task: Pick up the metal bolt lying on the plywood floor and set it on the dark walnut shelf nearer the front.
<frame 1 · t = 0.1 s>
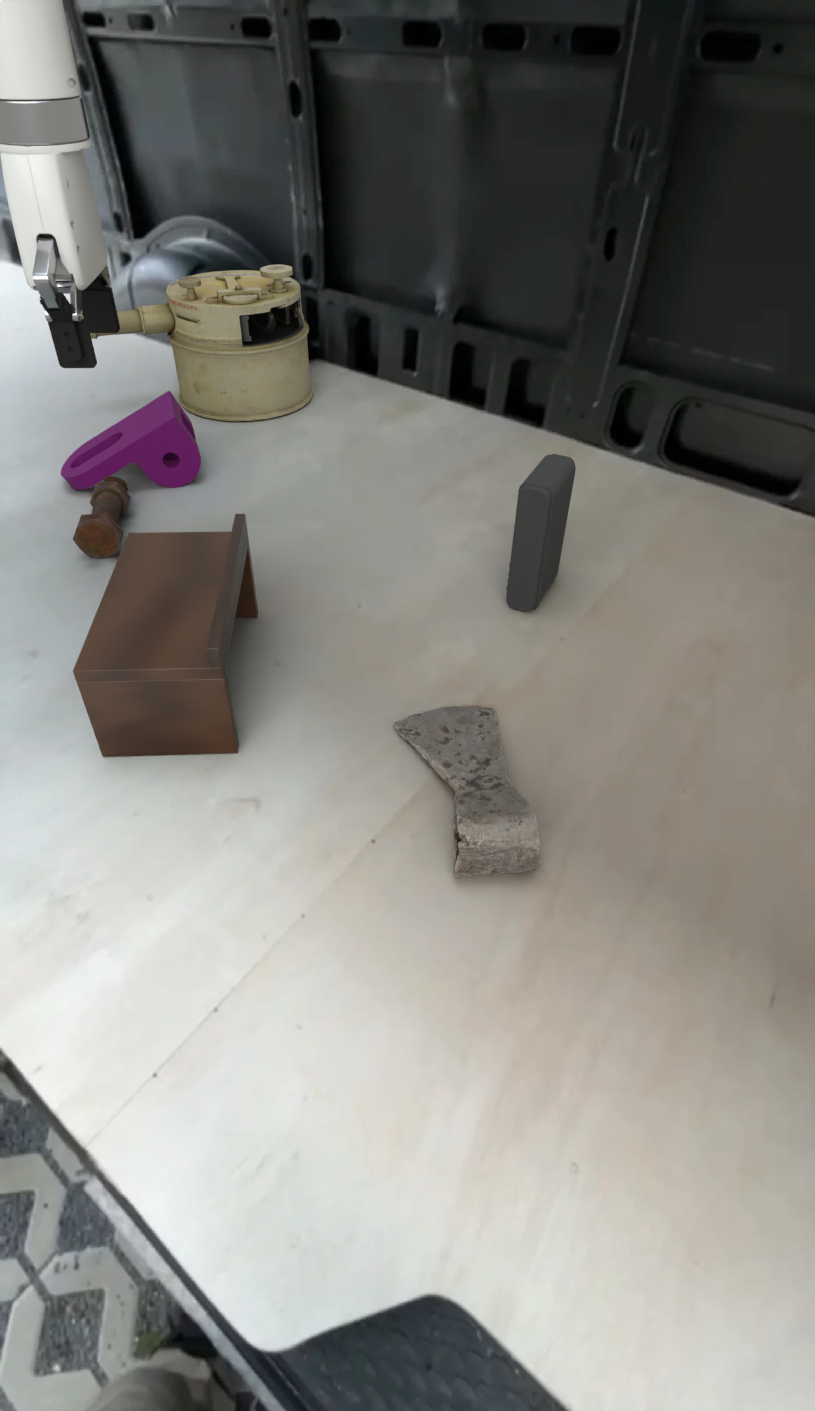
hand: (92, 348, 75), 26 cm above the table, tool pointing down, fingers open, 9 cm apart
axe head: (464, 789, 69), on the table
mounting bracket: (134, 478, 111), on the table
card reader: (530, 592, 92), on the table
bolt: (112, 528, 101), on the table
shelf: (188, 676, 79), on the table
mechanical device: (210, 400, 132), on the table
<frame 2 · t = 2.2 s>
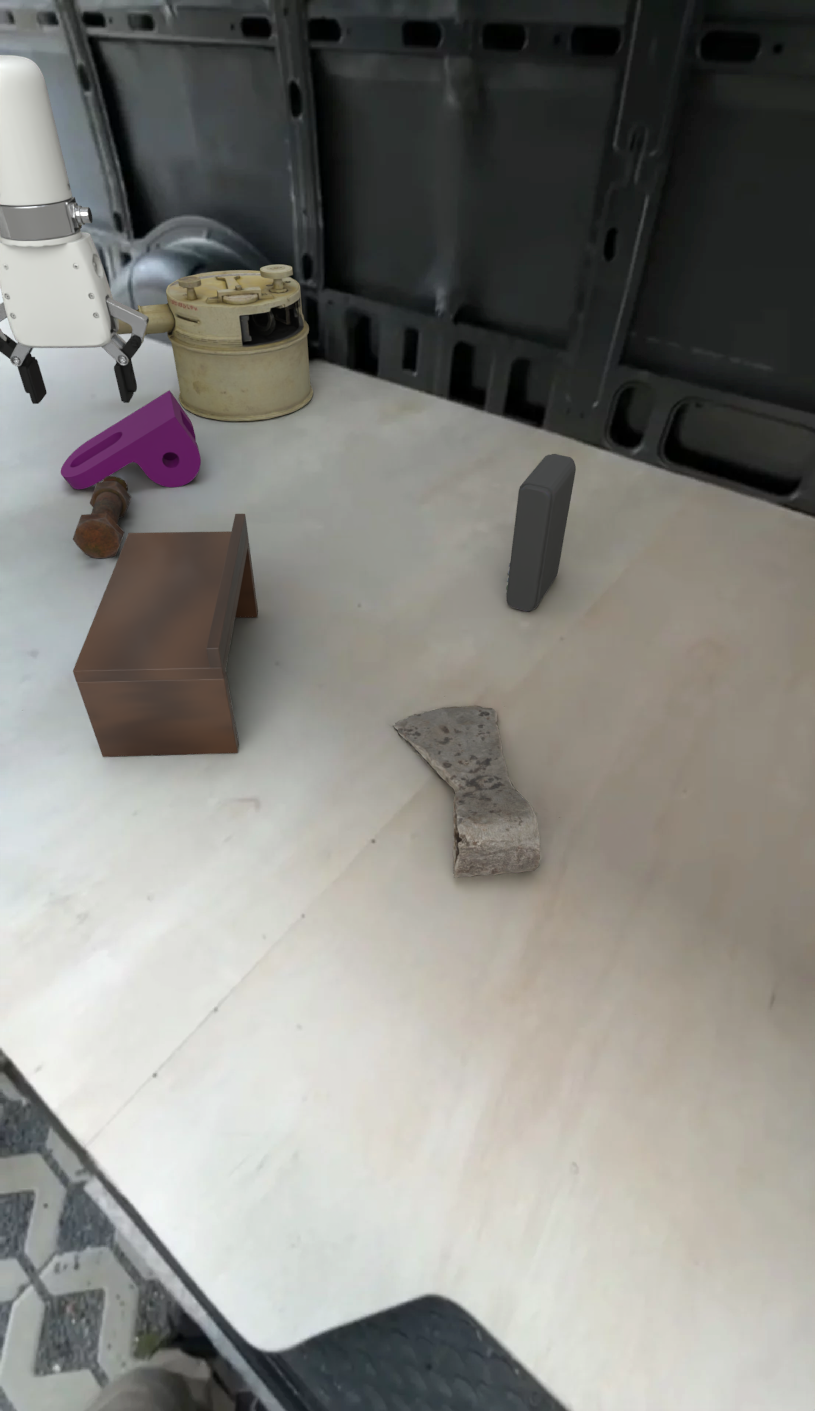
hand: (84, 398, 88), 17 cm above the table, tool pointing down, fingers open, 9 cm apart
nothing on the table moved.
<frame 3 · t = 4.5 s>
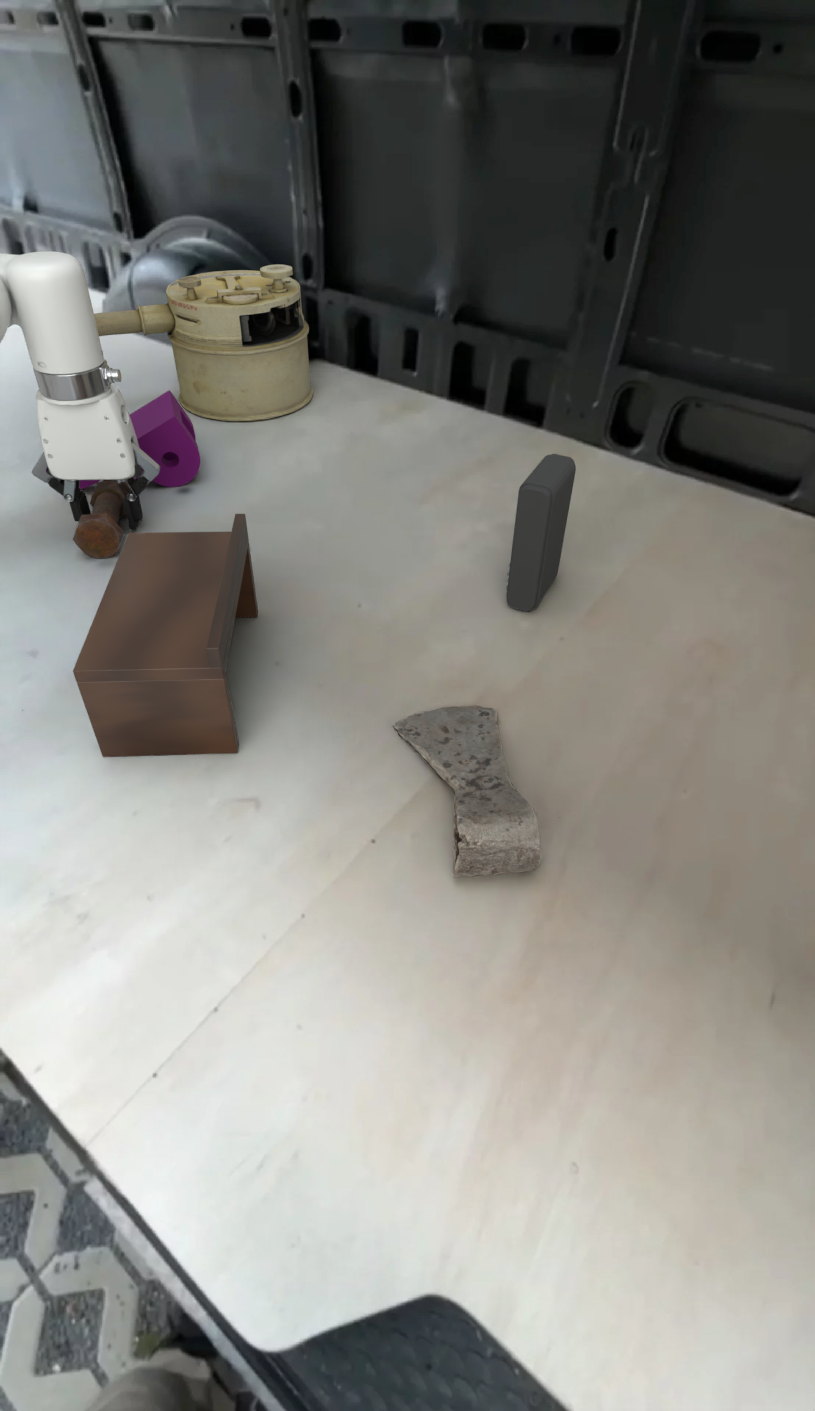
hand: (110, 524, 100), 0 cm above the table, tool pointing down, fingers closed on bolt, 5 cm apart
bolt: (112, 528, 101), on the table, touching gripper
everything else where it was.
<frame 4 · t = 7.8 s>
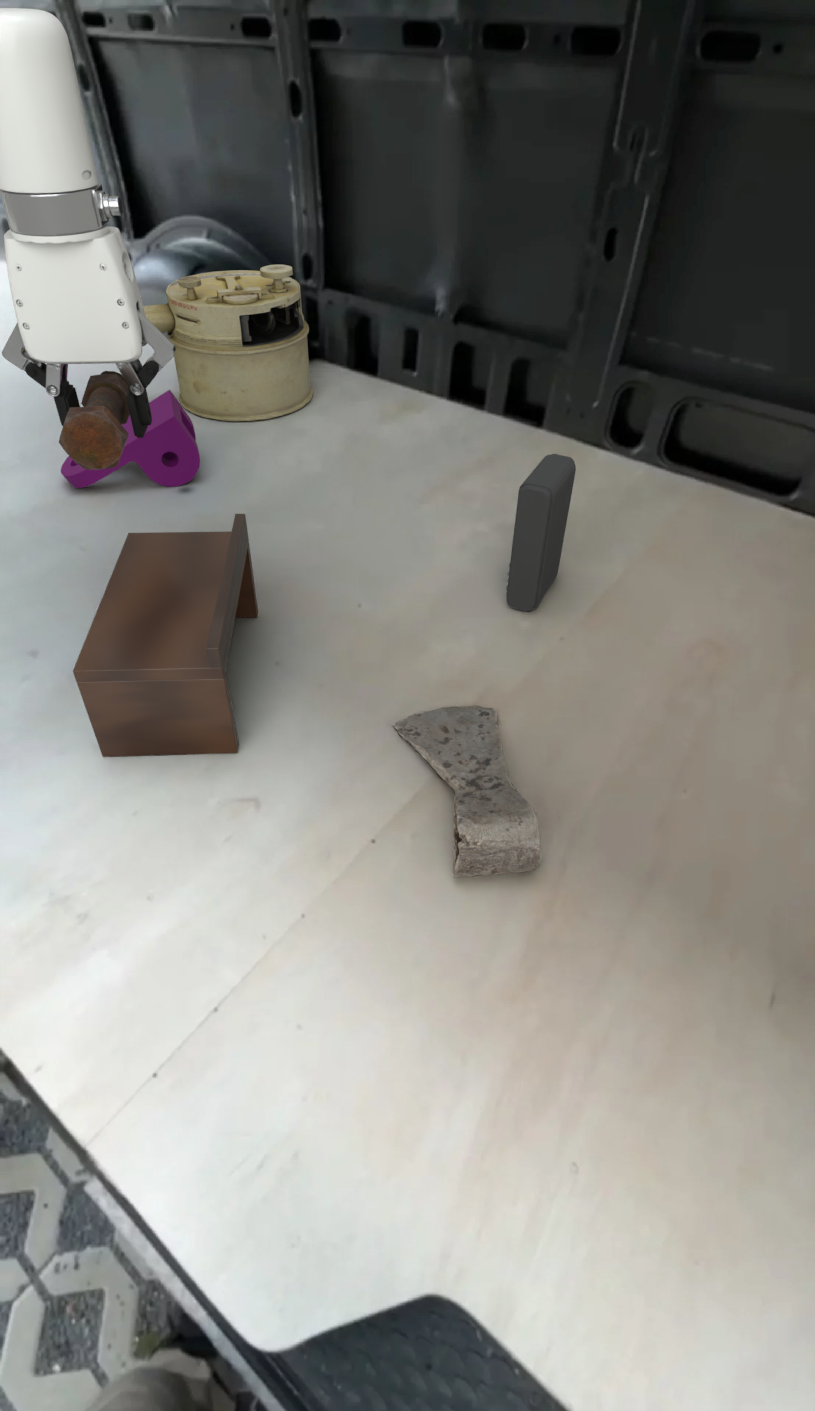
hand: (109, 430, 76), 20 cm above the table, tool pointing down, fingers closed on bolt, 5 cm apart
bolt: (112, 437, 76), point 19 cm above the table, touching gripper
everything else where it was.
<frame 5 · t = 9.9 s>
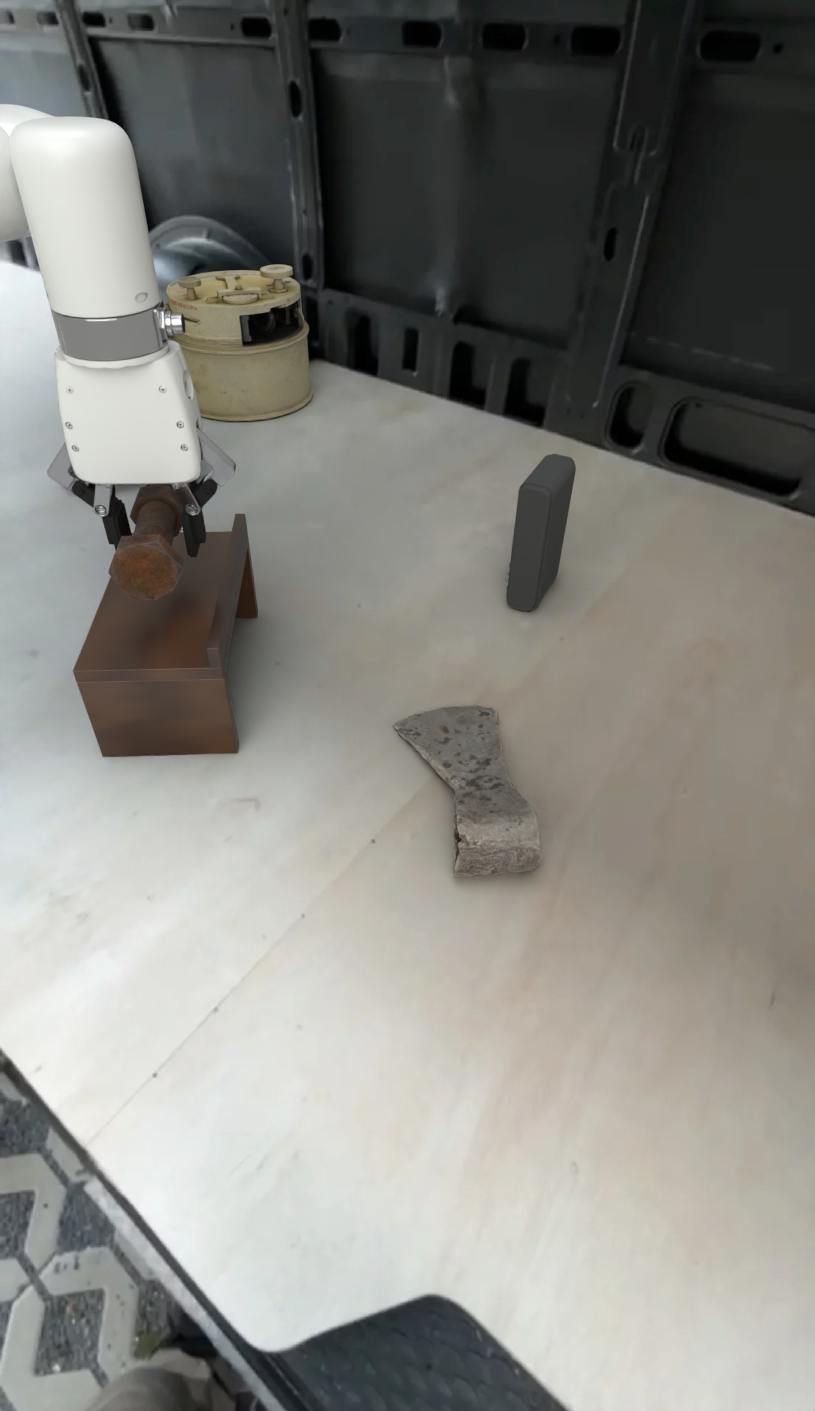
hand: (160, 547, 69), 15 cm above the table, tool pointing down, fingers closed on bolt, 5 cm apart
bolt: (162, 553, 70), point 14 cm above the table, touching gripper
everything else where it was.
when the fingers open (10 cm above the table, at t = 11.4 s): bolt stays where it is, resting on shelf.
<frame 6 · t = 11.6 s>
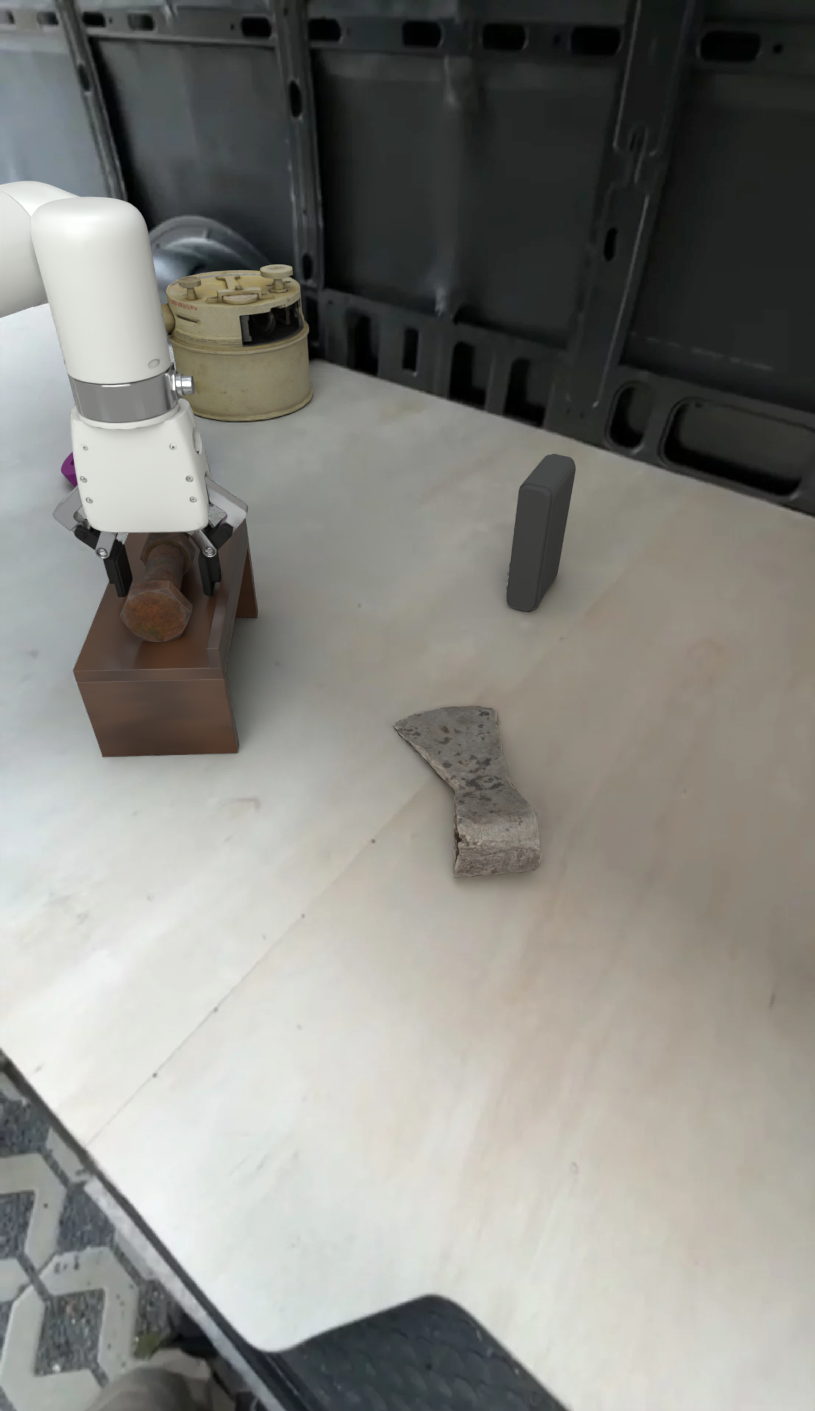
hand: (168, 586, 72), 11 cm above the table, tool pointing down, fingers open, 7 cm apart
bolt: (171, 594, 73), point 10 cm above the table, touching shelf
everything else where it was.
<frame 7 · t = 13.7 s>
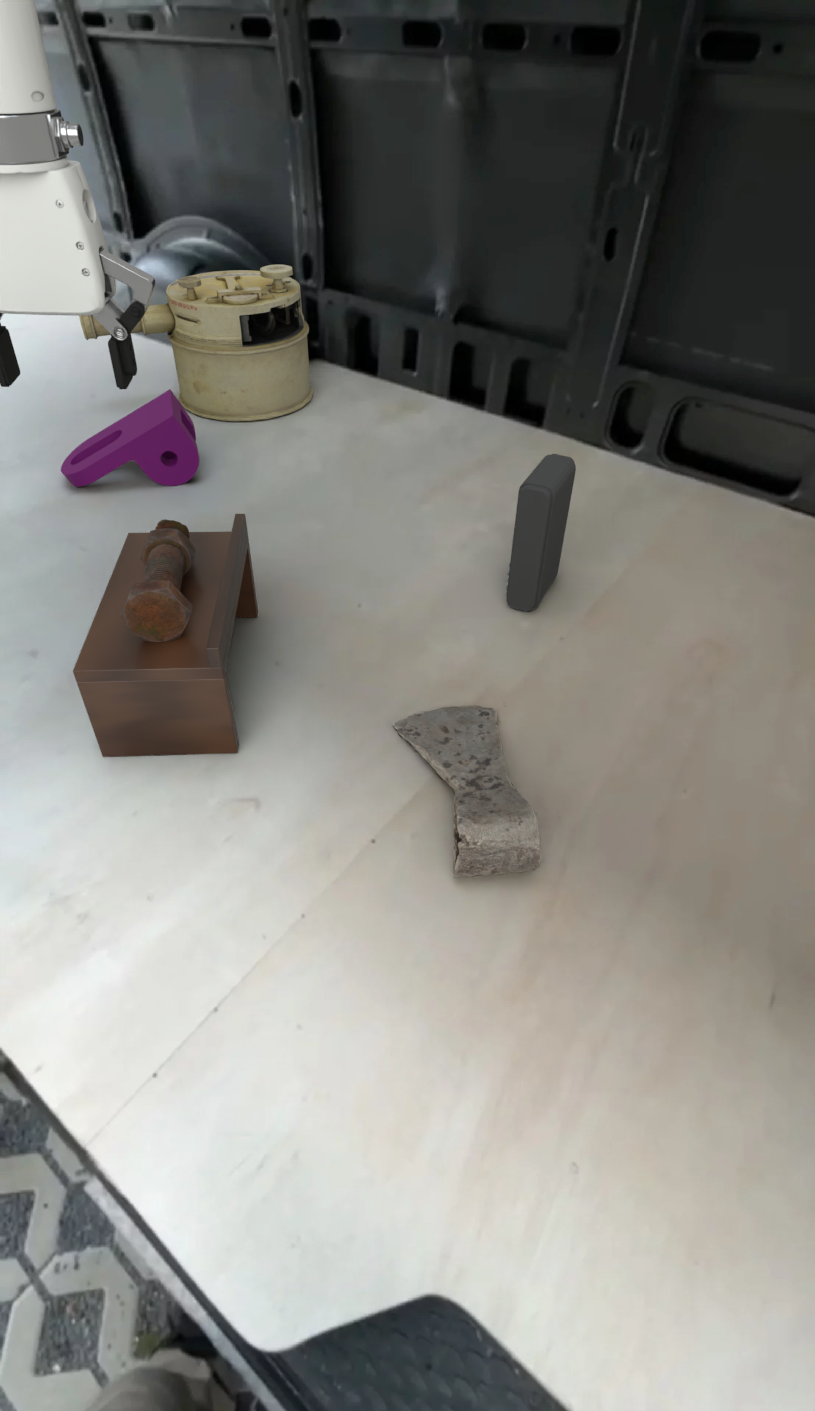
hand: (68, 382, 68), 26 cm above the table, tool pointing down, fingers open, 9 cm apart
nothing on the table moved.
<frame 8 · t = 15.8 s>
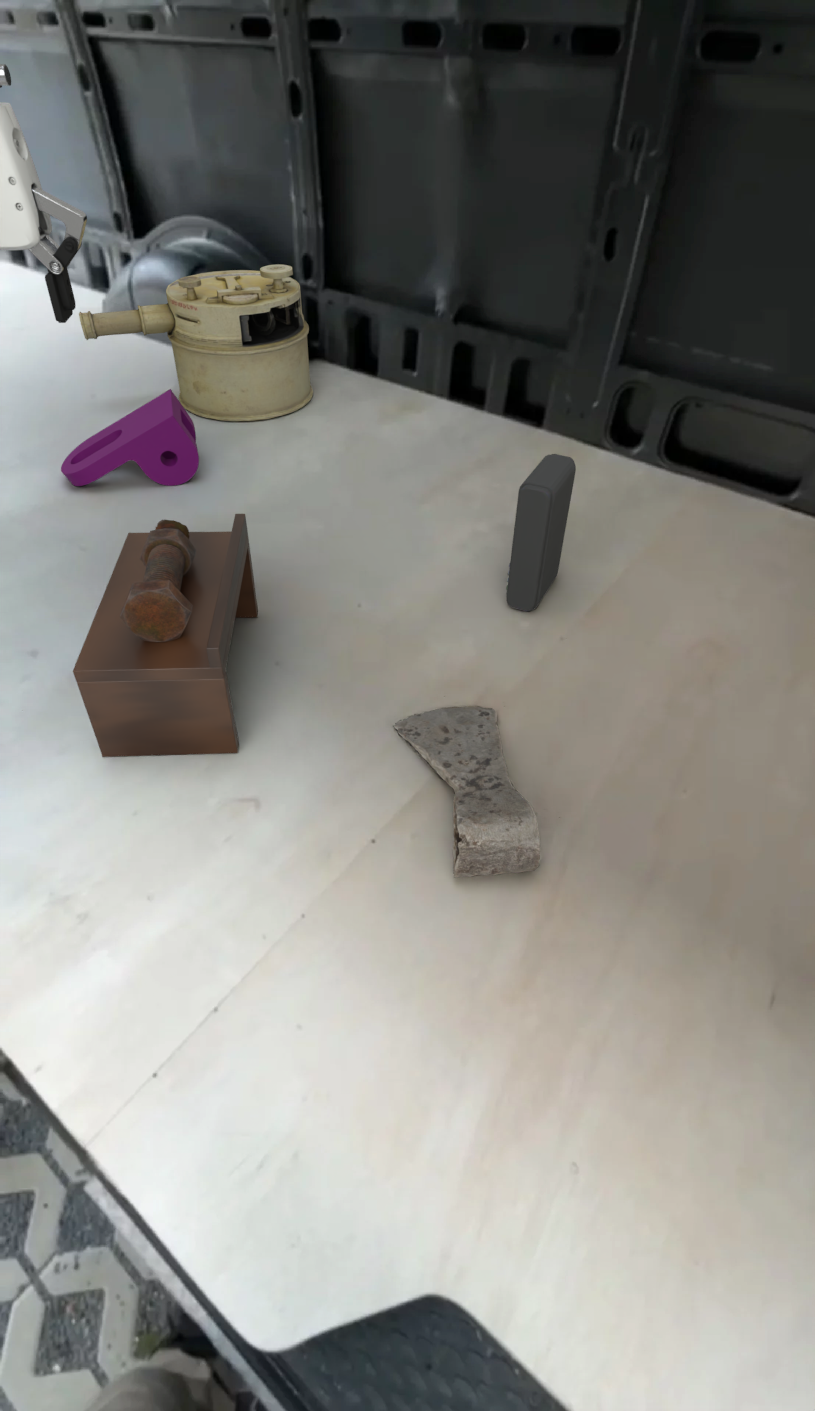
hand: (11, 318, 73), 28 cm above the table, tool pointing down, fingers open, 9 cm apart
nothing on the table moved.
at the end: bolt inside the target area on the shelf (0.1 cm from its centre), point 9.8 cm above the shelf's base; the gripper is holding nothing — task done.
